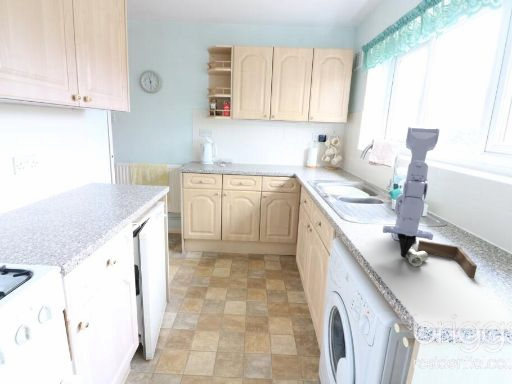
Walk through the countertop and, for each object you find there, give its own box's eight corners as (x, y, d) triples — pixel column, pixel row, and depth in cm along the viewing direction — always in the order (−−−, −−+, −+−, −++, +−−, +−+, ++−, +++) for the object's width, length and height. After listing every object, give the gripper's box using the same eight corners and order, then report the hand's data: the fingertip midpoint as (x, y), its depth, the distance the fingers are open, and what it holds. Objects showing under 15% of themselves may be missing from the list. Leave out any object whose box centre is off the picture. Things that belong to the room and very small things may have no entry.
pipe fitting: (423, 259, 98) (402, 255, 99) (426, 249, 97) (405, 245, 98) (431, 270, 90) (409, 265, 92) (435, 259, 89) (412, 254, 91)
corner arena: (417, 250, 104) (419, 240, 103) (457, 257, 100) (459, 246, 99) (426, 269, 90) (428, 257, 89) (474, 278, 86) (477, 266, 85)
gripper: (386, 217, 91) (380, 256, 95) (438, 224, 87) (430, 265, 90) (384, 211, 98) (379, 248, 101) (433, 217, 93) (425, 256, 96)
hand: (402, 255), depth 96 cm, fingers closed
